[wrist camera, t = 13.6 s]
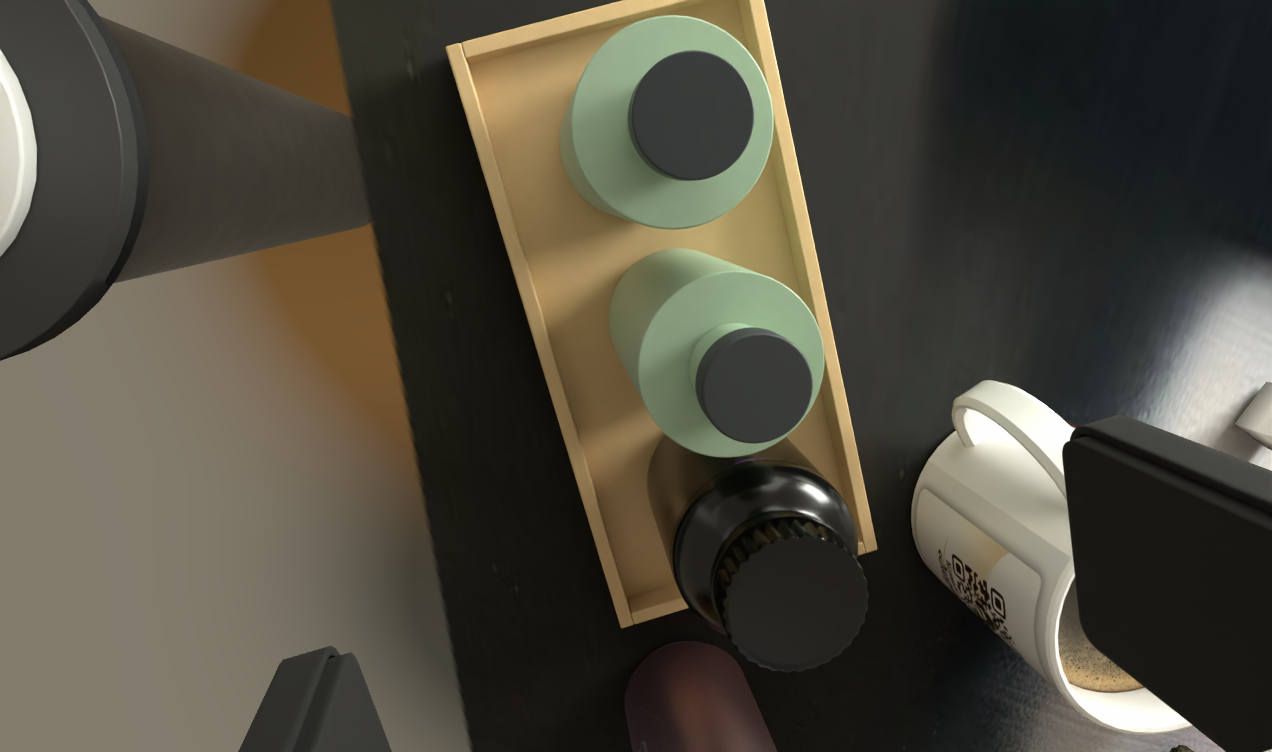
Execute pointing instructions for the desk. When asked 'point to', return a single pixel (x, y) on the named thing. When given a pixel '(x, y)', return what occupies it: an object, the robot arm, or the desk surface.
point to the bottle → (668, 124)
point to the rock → (1181, 749)
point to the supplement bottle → (761, 551)
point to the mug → (1021, 550)
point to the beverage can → (693, 703)
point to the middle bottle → (716, 351)
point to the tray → (607, 248)
